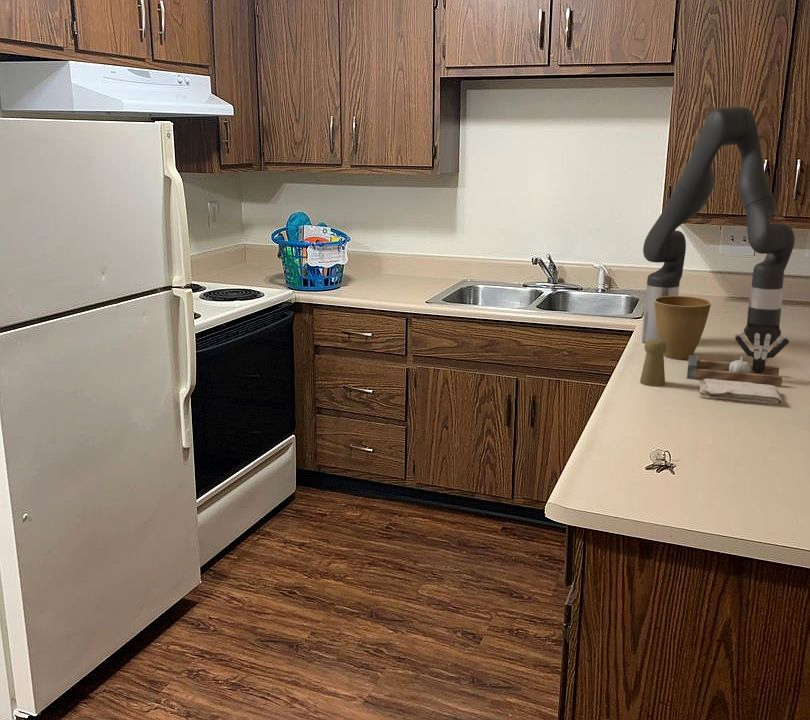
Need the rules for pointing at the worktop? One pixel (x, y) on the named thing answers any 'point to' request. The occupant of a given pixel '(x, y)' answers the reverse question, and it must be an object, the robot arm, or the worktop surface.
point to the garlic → (740, 366)
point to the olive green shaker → (654, 363)
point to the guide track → (721, 372)
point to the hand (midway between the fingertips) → (758, 372)
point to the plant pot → (681, 323)
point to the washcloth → (740, 392)
